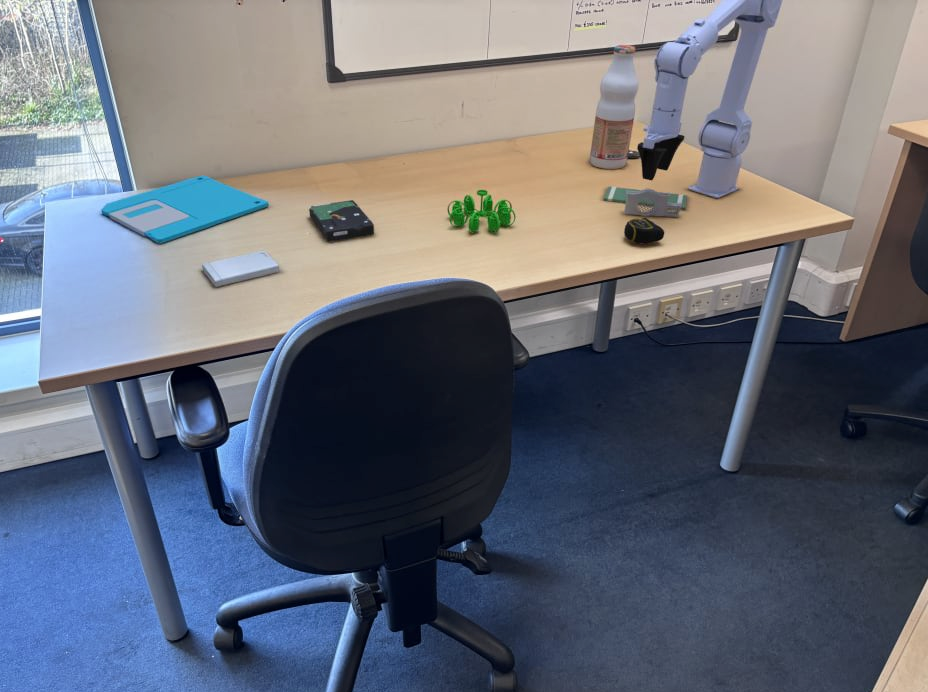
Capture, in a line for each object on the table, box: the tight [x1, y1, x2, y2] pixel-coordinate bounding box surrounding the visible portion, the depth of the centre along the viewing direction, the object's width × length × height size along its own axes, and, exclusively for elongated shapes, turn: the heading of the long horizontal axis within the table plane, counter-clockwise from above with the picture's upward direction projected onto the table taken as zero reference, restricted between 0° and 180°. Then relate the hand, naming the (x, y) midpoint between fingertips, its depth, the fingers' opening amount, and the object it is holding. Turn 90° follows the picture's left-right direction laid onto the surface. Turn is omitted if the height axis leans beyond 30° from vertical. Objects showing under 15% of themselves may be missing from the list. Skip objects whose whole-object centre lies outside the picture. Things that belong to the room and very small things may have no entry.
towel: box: [603, 186, 688, 211], centre depth 171 cm, size 8×18×1 cm, turn 71°
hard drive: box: [201, 250, 281, 288], centre depth 141 cm, size 2×8×12 cm
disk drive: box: [308, 199, 375, 243], centre depth 158 cm, size 10×3×15 cm
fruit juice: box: [589, 44, 640, 170], centre depth 184 cm, size 9×9×28 cm
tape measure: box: [623, 217, 665, 245], centre depth 151 cm, size 7×7×4 cm
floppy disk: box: [100, 175, 270, 244], centre depth 166 cm, size 26×28×1 cm
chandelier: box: [447, 189, 517, 234], centre depth 158 cm, size 15×15×7 cm
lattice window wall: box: [623, 187, 682, 218], centre depth 162 cm, size 12×2×6 cm, turn 81°
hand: (655, 174), depth 157 cm, fingers open, 7 cm apart
